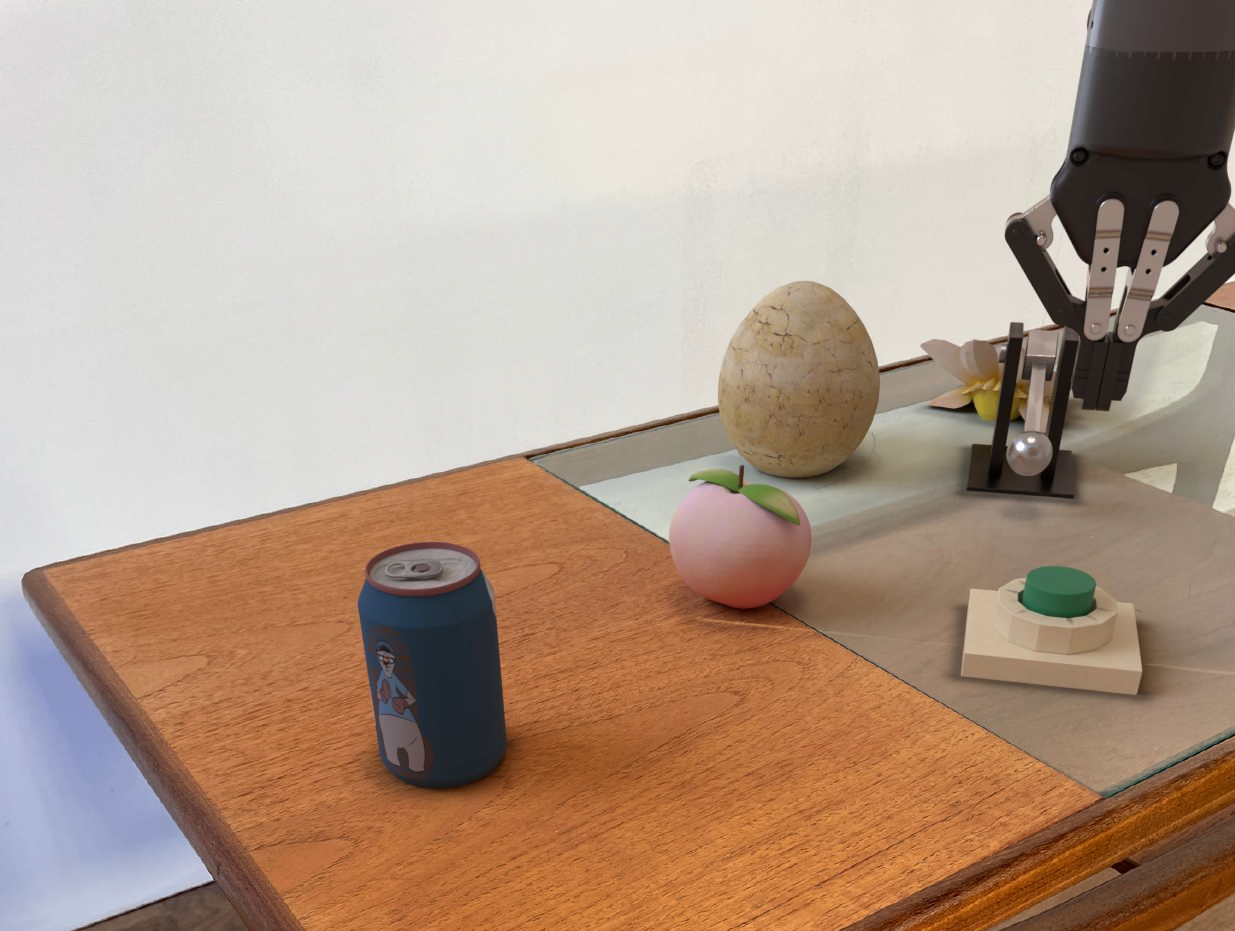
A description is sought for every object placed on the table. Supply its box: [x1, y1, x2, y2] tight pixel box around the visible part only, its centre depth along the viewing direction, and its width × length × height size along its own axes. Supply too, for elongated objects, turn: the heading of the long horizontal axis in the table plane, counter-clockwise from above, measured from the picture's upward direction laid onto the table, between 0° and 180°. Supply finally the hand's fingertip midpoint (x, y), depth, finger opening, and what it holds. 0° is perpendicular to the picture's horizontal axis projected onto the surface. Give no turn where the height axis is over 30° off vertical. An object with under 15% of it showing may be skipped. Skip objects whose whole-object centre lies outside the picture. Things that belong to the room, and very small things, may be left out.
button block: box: [960, 577, 1143, 696], centre depth 78 cm, size 10×9×4 cm
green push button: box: [1022, 565, 1097, 618], centre depth 77 cm, size 4×4×2 cm
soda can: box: [357, 541, 508, 789], centre depth 67 cm, size 7×7×12 cm
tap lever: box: [1006, 329, 1060, 476], centre depth 95 cm, size 13×3×3 cm, turn 165°
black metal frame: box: [966, 321, 1079, 500], centre depth 100 cm, size 10×8×12 cm
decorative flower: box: [919, 338, 1072, 433], centre depth 113 cm, size 15×11×10 cm
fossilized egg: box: [717, 280, 881, 479], centre depth 101 cm, size 13×13×15 cm
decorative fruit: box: [668, 464, 812, 610], centre depth 82 cm, size 9×8×10 cm
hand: (1095, 406), depth 70 cm, fingers closed
